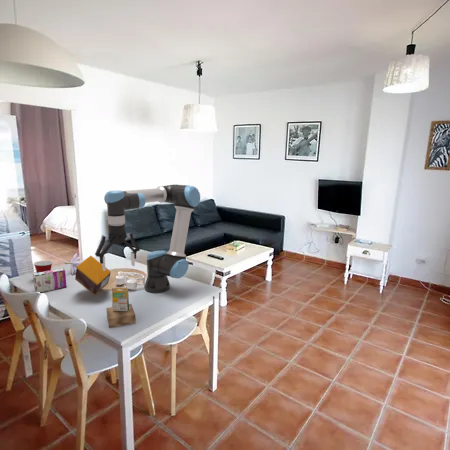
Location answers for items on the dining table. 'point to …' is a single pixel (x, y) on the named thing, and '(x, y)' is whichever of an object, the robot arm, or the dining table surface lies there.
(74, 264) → the water lily
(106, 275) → the supplement box
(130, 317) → the walnut block
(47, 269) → the plastic cup
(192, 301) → the dining table surface
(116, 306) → the crayon box
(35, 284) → the candy bar box
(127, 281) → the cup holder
